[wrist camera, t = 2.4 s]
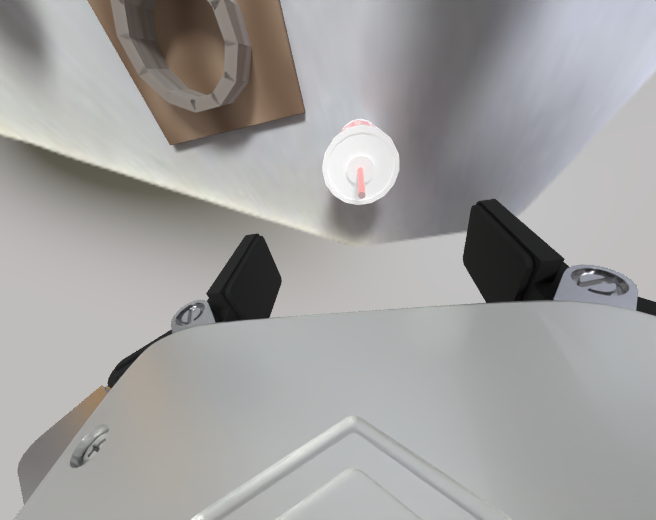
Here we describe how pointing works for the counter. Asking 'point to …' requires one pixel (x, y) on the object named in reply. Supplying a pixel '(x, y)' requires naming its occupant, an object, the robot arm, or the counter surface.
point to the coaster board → (205, 62)
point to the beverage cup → (360, 163)
